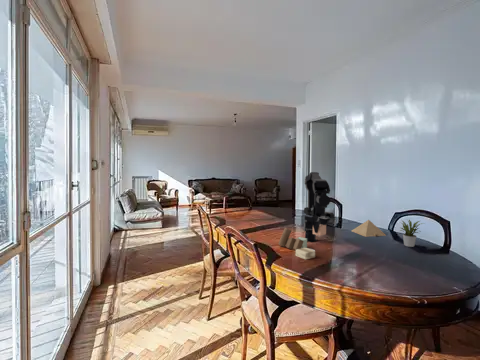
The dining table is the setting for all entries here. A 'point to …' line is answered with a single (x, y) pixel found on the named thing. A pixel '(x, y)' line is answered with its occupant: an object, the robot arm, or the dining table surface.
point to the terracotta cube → (320, 230)
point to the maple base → (305, 253)
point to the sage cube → (303, 242)
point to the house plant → (410, 233)
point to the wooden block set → (290, 240)
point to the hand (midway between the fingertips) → (319, 232)
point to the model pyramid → (368, 230)
